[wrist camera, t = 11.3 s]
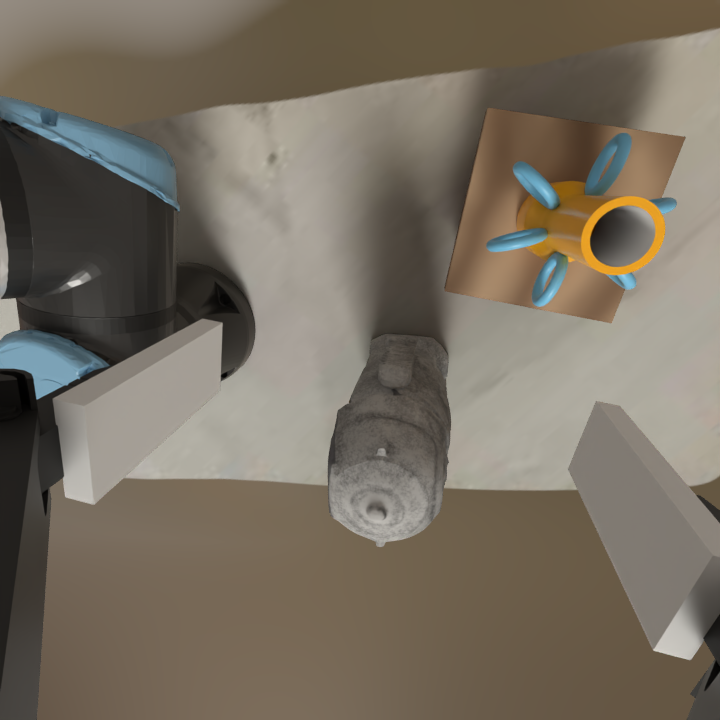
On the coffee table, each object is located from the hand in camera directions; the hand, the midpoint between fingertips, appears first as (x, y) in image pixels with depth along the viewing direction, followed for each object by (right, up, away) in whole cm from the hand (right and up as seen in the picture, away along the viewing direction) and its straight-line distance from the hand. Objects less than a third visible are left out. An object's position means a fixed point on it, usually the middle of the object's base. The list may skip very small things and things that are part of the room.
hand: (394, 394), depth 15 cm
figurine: (+5, -1, +37) cm, 38 cm away
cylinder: (+15, +13, +21) cm, 29 cm away
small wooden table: (+16, +16, +29) cm, 37 cm away
